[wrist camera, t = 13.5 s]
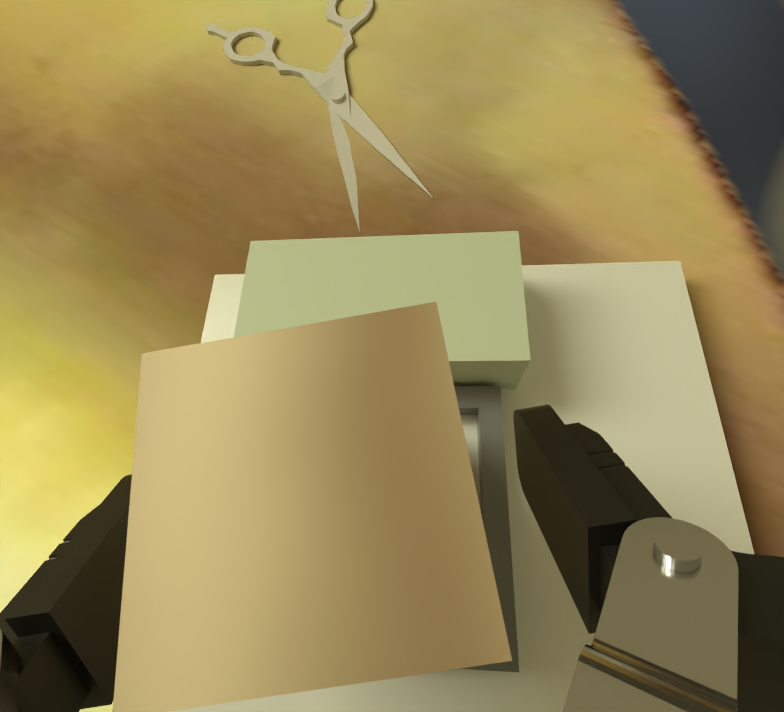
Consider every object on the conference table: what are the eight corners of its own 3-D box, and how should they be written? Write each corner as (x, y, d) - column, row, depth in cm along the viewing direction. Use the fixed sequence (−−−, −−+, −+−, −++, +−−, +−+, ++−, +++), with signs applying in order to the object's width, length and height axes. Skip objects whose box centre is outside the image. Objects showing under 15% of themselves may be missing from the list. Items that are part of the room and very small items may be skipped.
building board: (134, 764, 15) (84, 801, 13) (226, 288, 21) (204, 262, 19) (795, 823, 13) (864, 879, 10) (666, 276, 19) (692, 246, 17)
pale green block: (261, 390, 18) (228, 363, 15) (277, 282, 20) (250, 241, 17) (515, 389, 17) (530, 360, 14) (506, 276, 19) (518, 231, 16)
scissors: (353, -30, 30) (495, 171, 22) (355, -17, 30) (493, 182, 23) (205, 26, 29) (296, 252, 21) (210, 38, 30) (300, 262, 22)
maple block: (316, 604, 15) (112, 719, 6) (306, 454, 17) (141, 353, 7) (465, 582, 15) (512, 661, 5) (437, 432, 16) (436, 301, 7)
